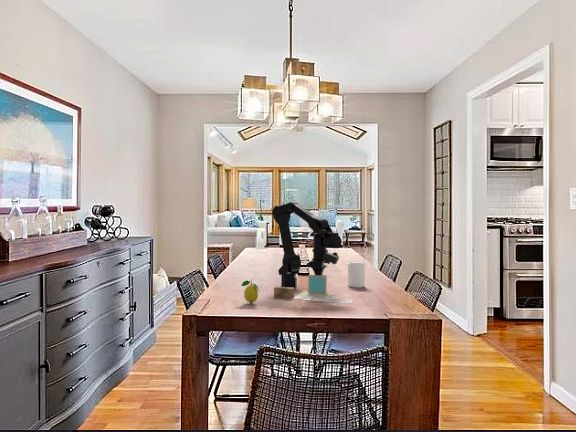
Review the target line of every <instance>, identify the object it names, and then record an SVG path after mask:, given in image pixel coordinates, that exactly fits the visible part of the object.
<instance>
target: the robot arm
mask: <svg viewBox="0 0 576 432" xmlns="http://www.w3.org/2000/svg"><path fill="white" fill-rule="evenodd" d="M271 214H272V217H273V220H274V221H275V222H276V224H277V225H278V229H279V230H278V231H279V234H280V240H281V245H282V250H283V257H282V260H281V263H282V265H281V267H279V268H278V275H279V276H281V277H280V279H281V281H280V282H281V283H280V284H281V285H280V287H291V288H294V289H295V288H296V287H297V286H298V283H297V282H298V277H297V275H299V272H300V269H301V267H302V261H301V256H300V254H296V252H295V248H294V244H293V238H292V233H291V228H290V227H291V226H290V224H289V223H290V219H291V215H292V214H295V215H296V216H298V217H299V218H300V219H302V220H303V221H304V222H306V223H307V224H308V227H309V228H310V229H311V230H312V232H311V233H310V234H309V237H313V238H312V239H313V240H312V241H313V244H312V245H313V247H312V251H311V252H312V255H313V256H312V257H313V258H311V260H310V261H309V262H307V267H308V269H310V268H311V269H312V271H313V274H314V275H323V274H324V271H325V269H326V268H327V267H328V265H330V264H332V265H337V263H338V261H339V260H340V259H339V258H340V256H339V255H338V252H335V251H334V252H333V253H331V252H329V250H328V249H330V248H331V249H339V248H341V246H342V243H343V242H342V241H343V240H342V238H341V236H340V234H339V232H333V229H332V227H331V226H330V224H329V221H328V220H327V218H324V217H322V216H318V215H315V214H313V213H312V212H311V211H309V210H308V209H307V208H305V207H303V205H301V204H300V203H299V202H296V201H289V202H287V203H285V204H282V205H274V207H273V209H272V210H271ZM327 248H328V249H327ZM325 264H327V265H325Z"/></svg>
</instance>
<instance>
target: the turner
mask: <svg viewBox="0 0 576 432" xmlns="http://www.w3.org/2000/svg"><path fill="white" fill-rule="evenodd" d="M273 298H277V299H278V298H280V299H290V300H294V301H308V302H309V301H311V300H314V299H315V297H303V296H297V295H295V288H291V287H281V286H275V287H274V288H273Z"/></svg>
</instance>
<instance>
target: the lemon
mask: <svg viewBox="0 0 576 432" xmlns="http://www.w3.org/2000/svg"><path fill="white" fill-rule="evenodd" d="M241 287H246V288H245V289H244V292H243V295H244V296H243V297H244V300H245V301H246V302H248V303H249V304H250V305H252V304H253V303H255V302H257V300H258V298H259V292H261V291H260V288H259V287H258V285H257V284H256V283H253V282H252V278H251V279H250V280H244V281H243V282H242V283H241Z"/></svg>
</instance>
